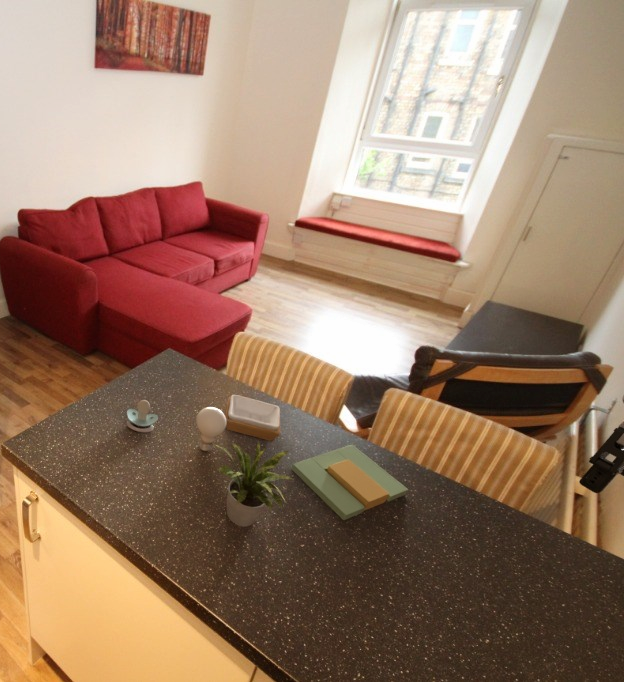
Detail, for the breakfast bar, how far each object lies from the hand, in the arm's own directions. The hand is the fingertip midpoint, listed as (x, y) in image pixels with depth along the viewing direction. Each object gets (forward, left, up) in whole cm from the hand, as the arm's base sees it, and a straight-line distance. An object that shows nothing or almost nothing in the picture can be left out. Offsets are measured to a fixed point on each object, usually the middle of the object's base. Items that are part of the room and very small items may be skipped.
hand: (604, 479), depth 62 cm
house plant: (+35, -29, -26) cm, 53 cm away
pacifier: (+40, -58, -26) cm, 75 cm away
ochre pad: (+6, -26, -26) cm, 37 cm away
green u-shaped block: (+6, -28, -26) cm, 38 cm away
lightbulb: (+30, -46, -26) cm, 61 cm away
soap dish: (+15, -49, -26) cm, 58 cm away
